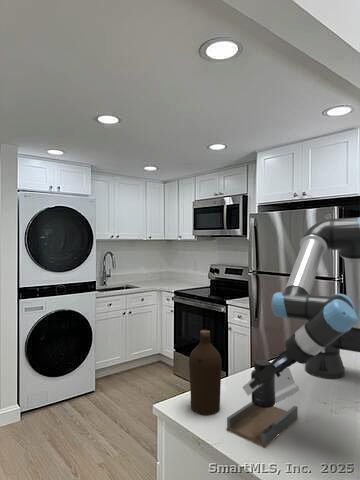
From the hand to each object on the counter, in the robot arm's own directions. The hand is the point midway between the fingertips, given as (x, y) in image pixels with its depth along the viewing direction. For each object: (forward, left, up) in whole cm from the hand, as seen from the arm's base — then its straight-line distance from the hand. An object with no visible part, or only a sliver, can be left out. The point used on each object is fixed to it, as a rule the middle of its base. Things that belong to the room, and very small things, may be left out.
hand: (252, 387), depth 101 cm
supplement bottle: (-2, +3, -4) cm, 5 cm away
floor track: (-2, +3, -10) cm, 11 cm away
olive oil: (+11, -11, -10) cm, 19 cm away
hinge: (-17, -13, -10) cm, 24 cm away
